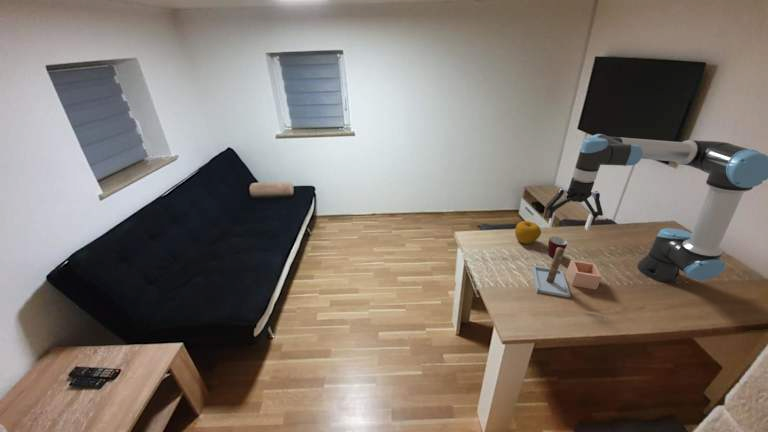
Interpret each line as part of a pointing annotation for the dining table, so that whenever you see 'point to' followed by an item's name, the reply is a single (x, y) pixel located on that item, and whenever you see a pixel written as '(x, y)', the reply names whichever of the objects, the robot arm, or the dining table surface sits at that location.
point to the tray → (555, 288)
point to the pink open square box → (583, 274)
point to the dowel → (555, 265)
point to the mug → (555, 245)
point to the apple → (527, 232)
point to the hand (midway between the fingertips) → (567, 226)
